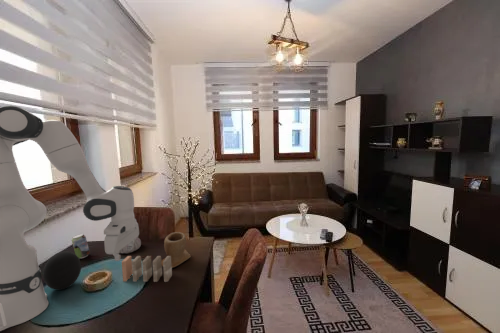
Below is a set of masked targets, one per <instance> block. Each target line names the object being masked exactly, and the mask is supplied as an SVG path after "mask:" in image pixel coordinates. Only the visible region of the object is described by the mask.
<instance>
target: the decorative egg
mask: <svg viewBox="0 0 500 333" xmlns="http://www.w3.org/2000/svg"><path fill="white" fill-rule="evenodd" d="M46 261H47V262H46V263H45V265H44V268H43V272H42V277H43V281H44V283H45V284H46V286H47V287H49V288H50V289H52V290H58V291H59V290H61V291H62V290H64V289H68V288H69V287H71V286H72V285H73V284H74V283H75V282H76V281H77V280H78V279H79V276H80V274H81V270H82V263H81V261H80V259H79V258H78V257H77V255H76V254H75V252H72V251H67V250H66V251H65V250H64V251H60V252H58V253H55V254H54V255H52V256H51V257H50V258H49V259H48V260H46Z"/></svg>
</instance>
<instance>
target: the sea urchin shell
mask: <svg viewBox="0 0 500 333" xmlns="http://www.w3.org/2000/svg"><path fill="white" fill-rule="evenodd" d="M141 245H142V240H141V239H140V237H139V236H138V237H137V238H135V239H134V244H133V249H132V250H131V251H128V250H127V247H128V244H127V245H126V246H125V247H123V248H122V249H121V250H120V251H119V254H123V255H124V254H130V253H133V252H135V251H137V250H138V249H140V247H141Z"/></svg>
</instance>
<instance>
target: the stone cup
mask: <svg viewBox="0 0 500 333" xmlns="http://www.w3.org/2000/svg"><path fill="white" fill-rule="evenodd" d="M163 243H164V244H163V246H164V252H165V254H166V257H167V256H171V265H172V269H173V268H176V267H178V266H180V265H181V264H183V263H184V262H185V261H187V260H189V259H190V258H191V257H192V256H191V254H190V253H189V252H188V250H187V249H186V248H185V247H186V244H187V237H186V235H185V233H183V232H180V231H175V232H171V233H170V234H168V235H167V236H166V237H165V238H164V241H163ZM164 260H165V258H163V259H161V265H162V267H163V261H164Z"/></svg>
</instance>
